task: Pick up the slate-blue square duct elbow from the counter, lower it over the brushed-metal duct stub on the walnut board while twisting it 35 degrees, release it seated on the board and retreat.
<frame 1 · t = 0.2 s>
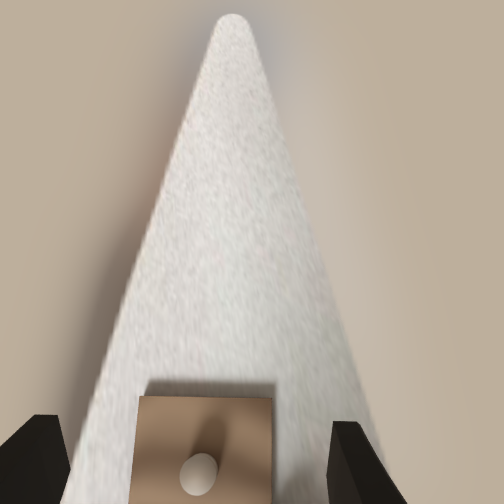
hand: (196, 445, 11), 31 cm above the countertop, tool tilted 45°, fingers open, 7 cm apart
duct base: (203, 468, 39), on the countertop
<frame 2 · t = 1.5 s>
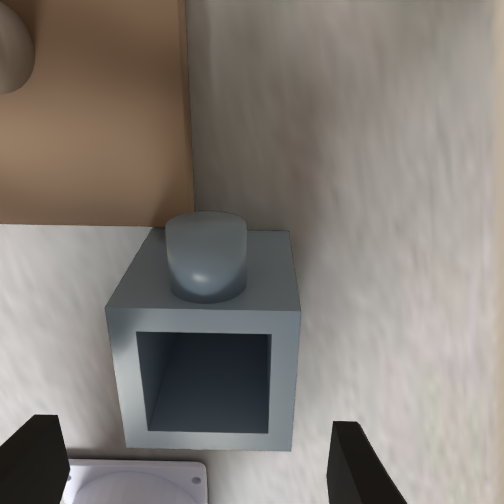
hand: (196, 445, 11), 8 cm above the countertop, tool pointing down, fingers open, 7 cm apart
duct sleeve: (221, 289, 19), on the countertop
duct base: (14, 46, 15), on the countertop
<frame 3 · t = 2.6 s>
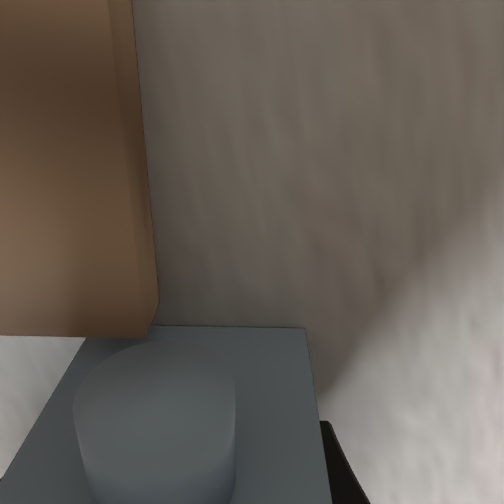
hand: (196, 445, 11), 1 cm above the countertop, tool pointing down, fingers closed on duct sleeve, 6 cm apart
duct sleeve: (203, 405, 13), on the countertop, touching gripper
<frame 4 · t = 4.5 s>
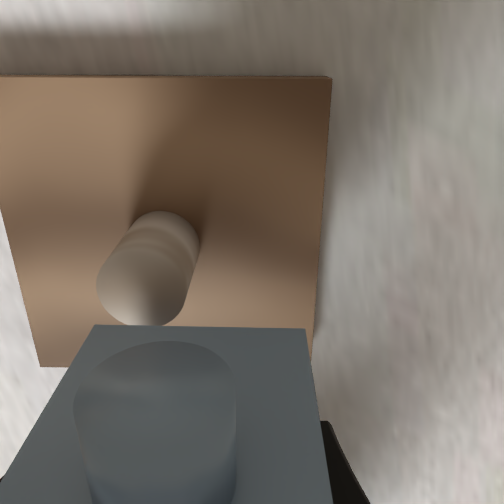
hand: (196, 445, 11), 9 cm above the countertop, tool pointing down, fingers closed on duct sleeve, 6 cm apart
duct sleeve: (203, 405, 13), point 7 cm above the countertop, touching gripper
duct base: (170, 230, 18), on the countertop
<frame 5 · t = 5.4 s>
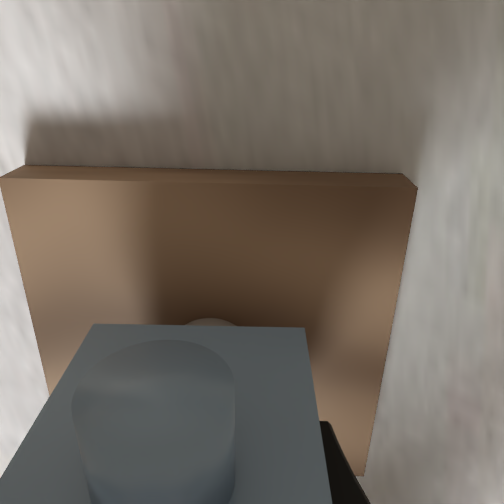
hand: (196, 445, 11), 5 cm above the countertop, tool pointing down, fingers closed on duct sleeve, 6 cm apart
duct sleeve: (202, 405, 13), point 4 cm above the countertop, touching gripper
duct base: (215, 326, 16), on the countertop
when the fingers open (4 cm above the countertop, at t = 6.4 s): duct sleeve drops 1 cm, resting on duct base.
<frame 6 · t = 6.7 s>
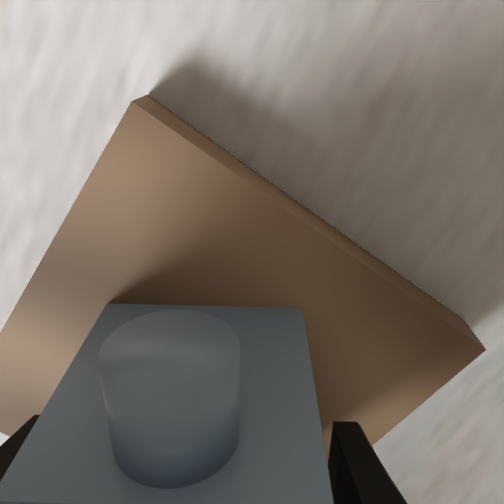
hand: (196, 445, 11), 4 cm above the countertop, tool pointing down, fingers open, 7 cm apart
duct sleeve: (207, 381, 14), point 1 cm above the countertop, touching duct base
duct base: (211, 351, 15), on the countertop
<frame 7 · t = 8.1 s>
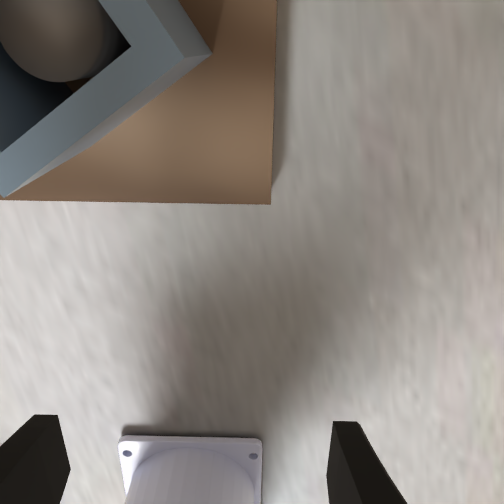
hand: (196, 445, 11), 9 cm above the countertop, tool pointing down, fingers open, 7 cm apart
duct sleeve: (94, 28, 14), point 1 cm above the countertop, touching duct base
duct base: (109, 30, 16), on the countertop
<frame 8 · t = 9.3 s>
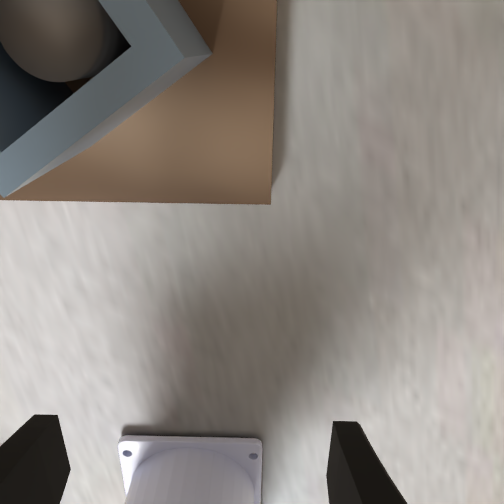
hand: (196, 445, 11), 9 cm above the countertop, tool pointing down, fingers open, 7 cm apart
duct sleeve: (94, 28, 14), point 1 cm above the countertop, touching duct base
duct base: (109, 30, 16), on the countertop
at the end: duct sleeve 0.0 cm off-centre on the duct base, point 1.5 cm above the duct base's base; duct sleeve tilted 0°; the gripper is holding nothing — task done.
